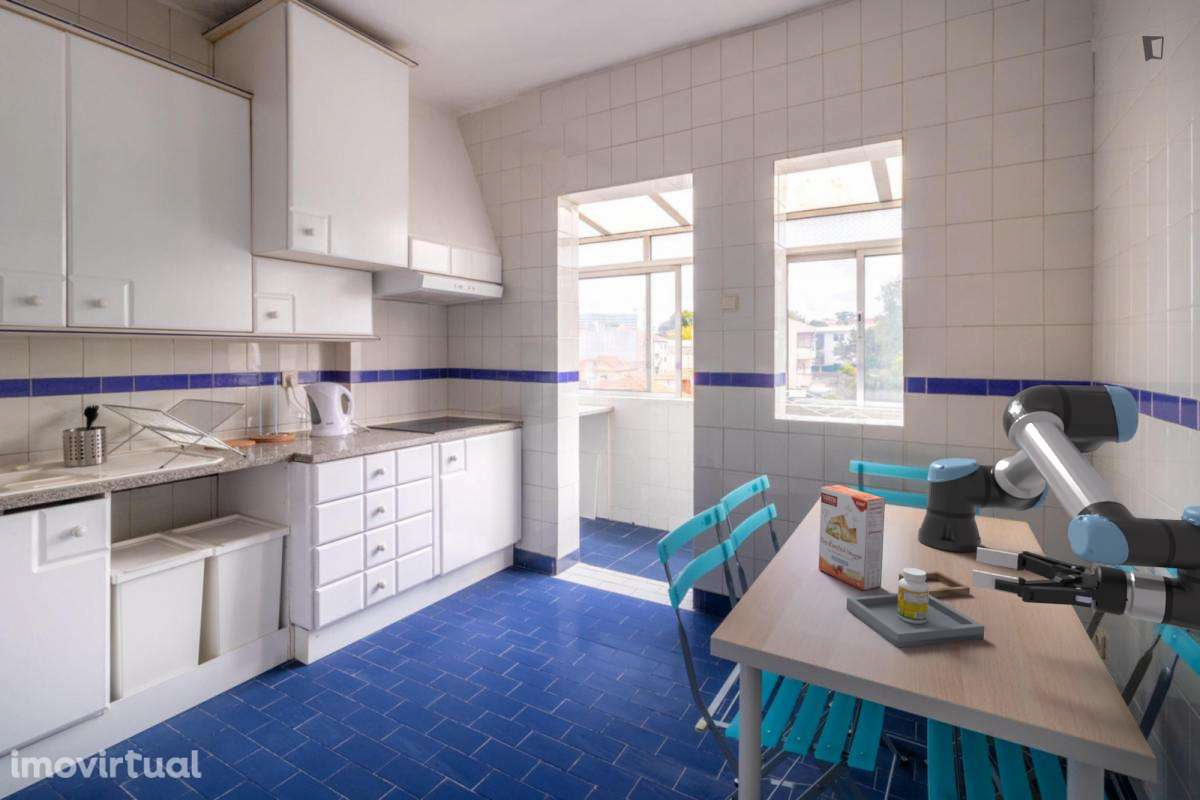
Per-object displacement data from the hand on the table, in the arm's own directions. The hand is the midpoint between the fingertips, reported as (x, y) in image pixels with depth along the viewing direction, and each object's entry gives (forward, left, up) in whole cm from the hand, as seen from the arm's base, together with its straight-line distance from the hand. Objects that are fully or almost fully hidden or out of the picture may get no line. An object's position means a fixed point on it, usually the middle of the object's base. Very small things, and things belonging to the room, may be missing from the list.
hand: (974, 565), depth 111 cm
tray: (+7, -7, -14) cm, 17 cm away
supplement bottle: (+7, -7, -13) cm, 16 cm away
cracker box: (+6, -30, -14) cm, 34 cm away
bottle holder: (-10, -22, -14) cm, 28 cm away
